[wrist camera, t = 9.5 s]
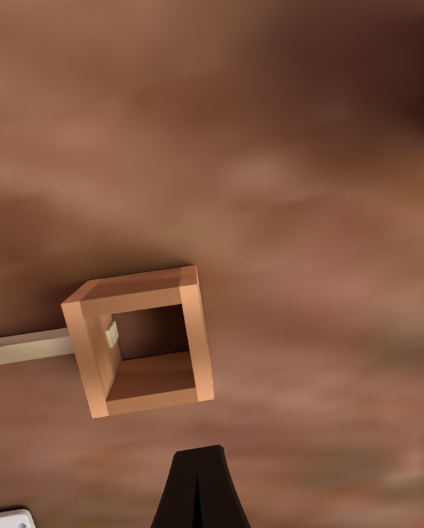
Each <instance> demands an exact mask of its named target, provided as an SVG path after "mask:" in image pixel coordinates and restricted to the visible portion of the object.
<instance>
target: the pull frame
mask: <svg viewBox="0 0 424 528" xmlns="http://www.w3.org/2000/svg"><path fill="white" fill-rule="evenodd" d="M176 304H182V307H183V313H184V319H185V325H186V331H187V337H188V343H189V349H190V351H185V352H178V353H172V354H165V355H159V356H152V357H145V358H139V359H132V360H126V361H122V358H121V354H120V349H119V345H118V341H117V339H118V337H119V335H118V331H117V326H116V322H115V321H113V319H112V315H111V314H115V313H122V312H128V311H135V310H142V309H149V308H155V307H162V306H169V305H176ZM61 306H62V310H63V313H64V317H65V321H66V324H67V328H62V329H56V330H49V331H42V332H35V333H29V334H22V335H15V336H8V337H2V338H0V364H6V363H12V362H19V361H26V360H32V359H39V358H45V357H52V356H59V355H65V354H72V353H75V357H76V360H77V364H78V368H79V371H80V375H81V378H82V382H83V386H84V389H85V393H86V396H87V400H88V404H89V407H90V411H91V414H92V418H97V417H104V416H110V415H116V414H123V413H129V412H135V411H141V410H148V409H154V408H160V407H167V406H173V405H179V404H186V403H192V402H198V401H205V400H211V399H214V390H213V380H212V371H211V362H210V354H209V348H208V341H207V334H206V328H205V321H204V314H203V308H202V301H201V294H200V288H199V281H198V274H197V268H196V265H192V266H185V267H179V268H172V269H165V270H158V271H151V272H144V273H137V274H130V275H123V276H116V277H109V278H102V279H95V280H88V281H87V282H86V283H85V284H84V285H83V286H81V287H80V288H79V289H78V290H77V291H76V292H74V293H73V294H72V295H71V296H70V297H69V298H67V299H66V300H65V301H64V302H63V303H62V304H61Z"/></svg>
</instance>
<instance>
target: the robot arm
mask: <svg viewBox="0 0 424 528" xmlns="http://www.w3.org/2000/svg"><path fill="white" fill-rule="evenodd" d="M0 528H36V527H35V525H34V522H33V519H32V517H31V514H30V512H29V511H28V510H26V509H19V510H13V511H7V512H1V513H0ZM151 528H251V527H250V524H249V522H248V520H247V517H246V515H245V513H244V510H243V508H242V506H241V503H240V501H239V498H238V496H237V493H236V490H235V487H234V485H233V482H232V479H231V476H230V473H229V470H228V466H227V463H226V458H225V454H224V447H222V446H221V445H214V446H208V447H202V448H195V449H189V450H183V451H177V452H176V453H175V455H174V457H173V461H172V465H171V468H170V472H169V476H168V479H167V482H166V485H165V489H164V492H163V494H162V497H161V500H160V503H159V506H158V509H157V512H156V515H155V517H154V520H153V523H152V525H151Z"/></svg>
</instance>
